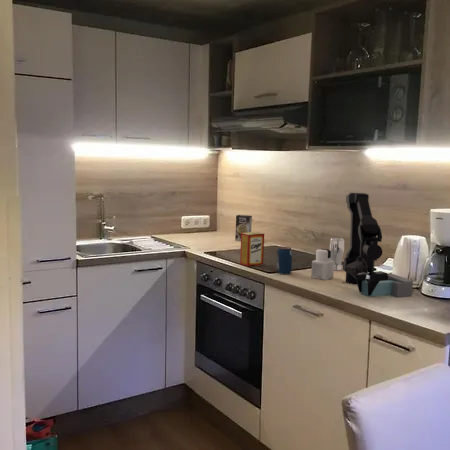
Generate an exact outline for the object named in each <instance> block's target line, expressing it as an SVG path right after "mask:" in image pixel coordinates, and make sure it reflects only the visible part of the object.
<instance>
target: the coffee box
mask: <svg viewBox="0 0 450 450" xmlns="http://www.w3.org/2000/svg"><path fill="white" fill-rule="evenodd" d="M252 221H253V215H247V214H236V215H235V234H234V235H235V237H234V241H237V242H241V233H249V232H252Z"/></svg>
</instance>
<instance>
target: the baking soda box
mask: <svg viewBox="0 0 450 450" xmlns="http://www.w3.org/2000/svg"><path fill="white" fill-rule="evenodd" d="M264 248H265V233H263V232H259V231H251V232H249V233H241V241H240V256H239V257H240V258H239V259H240V260H239V261H240V263H239V264H240V265H241V266H245V265H246V266H245V267H252V266H251V265H256V266H261V265H260V264H263V265H264V256H265V254H264V252H265V249H264Z"/></svg>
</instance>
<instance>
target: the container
mask: <svg viewBox="0 0 450 450" xmlns="http://www.w3.org/2000/svg"><path fill="white" fill-rule="evenodd" d="M315 252H316V253H315V259H314V260H312V261H311V274H310V277H311V279H316V278H317V280H322V281H328V280H330V279H332V278H334V272H335V270H334V261H332V260H330V259H331V251H330V249H328V248H318V249H316V251H315Z"/></svg>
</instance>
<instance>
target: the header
mask: <svg viewBox="0 0 450 450" xmlns="http://www.w3.org/2000/svg"><path fill="white" fill-rule="evenodd" d="M387 274H388V280H395V281H396V282H392V294H391V295H390V296H391V297H395V298H408V297H412V296H413V283H414V281H413V279H412V280H411V279H409V278H407V277H403V276H400V275H397V274H395V273H394V274H393V273H392V274H391V273H390V274H389V273H387Z"/></svg>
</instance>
